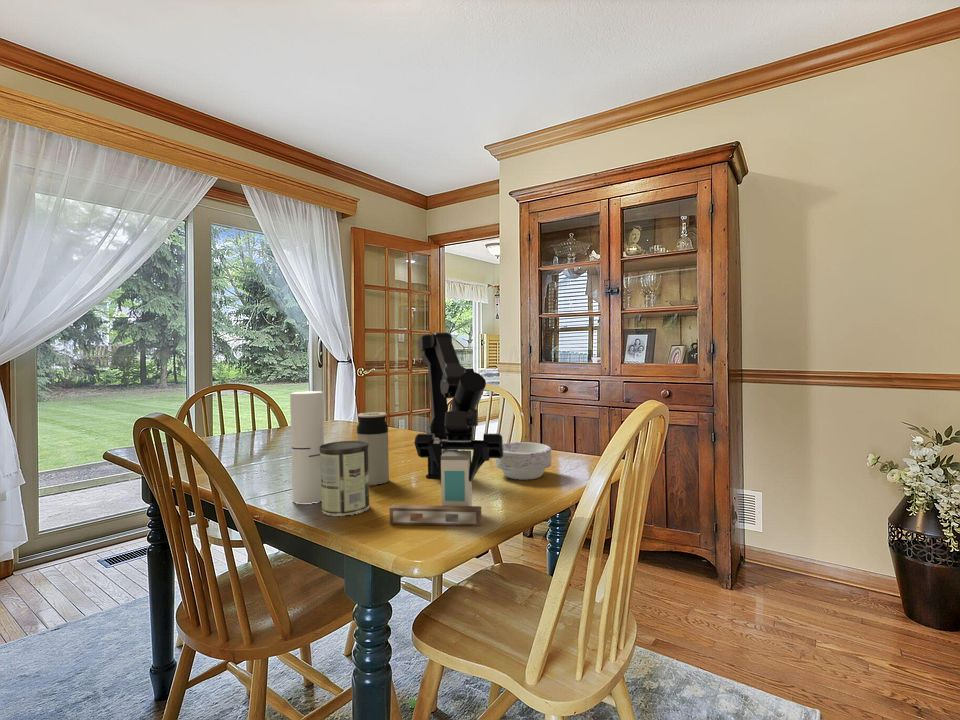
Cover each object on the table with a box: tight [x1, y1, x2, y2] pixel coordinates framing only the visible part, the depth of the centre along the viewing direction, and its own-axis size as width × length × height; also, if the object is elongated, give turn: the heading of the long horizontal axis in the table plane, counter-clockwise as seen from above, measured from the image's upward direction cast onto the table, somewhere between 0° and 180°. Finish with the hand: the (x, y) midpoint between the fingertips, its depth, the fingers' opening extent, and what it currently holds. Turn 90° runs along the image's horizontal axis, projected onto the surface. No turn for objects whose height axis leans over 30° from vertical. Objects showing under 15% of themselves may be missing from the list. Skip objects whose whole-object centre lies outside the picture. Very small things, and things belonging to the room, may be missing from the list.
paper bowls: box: [494, 441, 552, 481], centre depth 135 cm, size 15×15×8 cm
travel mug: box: [356, 411, 390, 486], centre depth 131 cm, size 8×8×18 cm
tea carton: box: [440, 450, 473, 506], centre depth 104 cm, size 6×6×12 cm
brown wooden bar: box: [389, 504, 482, 527], centre depth 98 cm, size 18×3×3 cm, turn 84°
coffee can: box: [319, 440, 371, 517], centre depth 109 cm, size 10×10×14 cm
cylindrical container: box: [289, 390, 325, 503], centre depth 116 cm, size 7×7×25 cm
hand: (455, 480), depth 102 cm, fingers open, 6 cm apart
